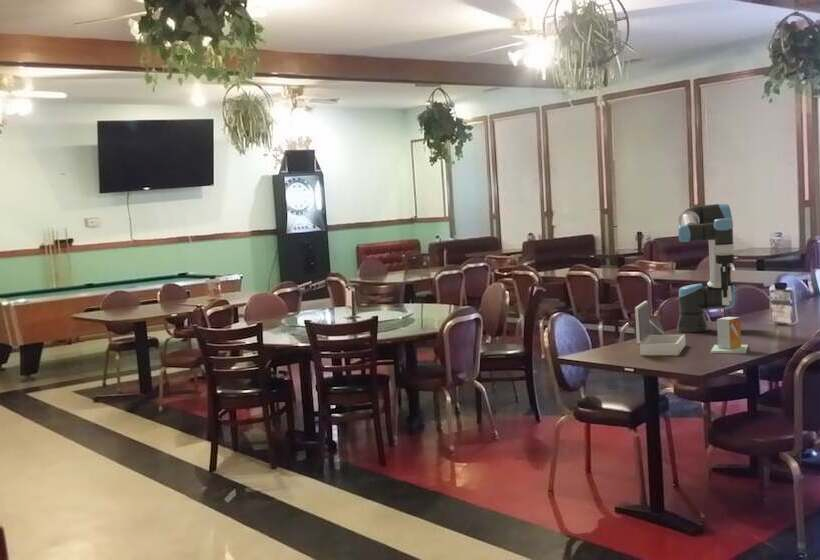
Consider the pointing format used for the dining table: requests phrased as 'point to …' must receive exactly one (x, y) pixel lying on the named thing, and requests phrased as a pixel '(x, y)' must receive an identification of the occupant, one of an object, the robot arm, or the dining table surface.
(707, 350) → the dining table surface
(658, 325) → the coffee pot
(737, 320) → the small box
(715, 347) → the sage mat
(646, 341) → the equipment case
